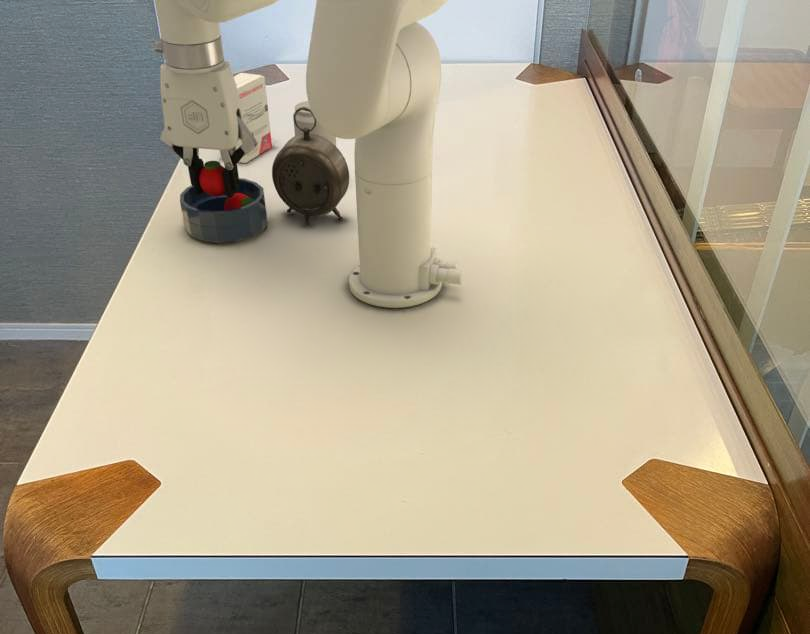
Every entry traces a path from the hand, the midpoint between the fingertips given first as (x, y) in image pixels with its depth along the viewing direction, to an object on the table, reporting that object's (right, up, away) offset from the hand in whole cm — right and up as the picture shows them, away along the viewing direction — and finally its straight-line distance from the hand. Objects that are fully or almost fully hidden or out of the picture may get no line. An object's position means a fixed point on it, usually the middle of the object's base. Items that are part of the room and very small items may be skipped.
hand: (216, 191), depth 124 cm
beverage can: (+13, +8, +16) cm, 22 cm away
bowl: (0, -3, +5) cm, 6 cm away
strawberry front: (+1, -1, +5) cm, 5 cm away
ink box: (0, +17, +26) cm, 31 cm away
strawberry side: (0, 0, 0) cm, 1 cm away
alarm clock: (+13, -2, +7) cm, 15 cm away
